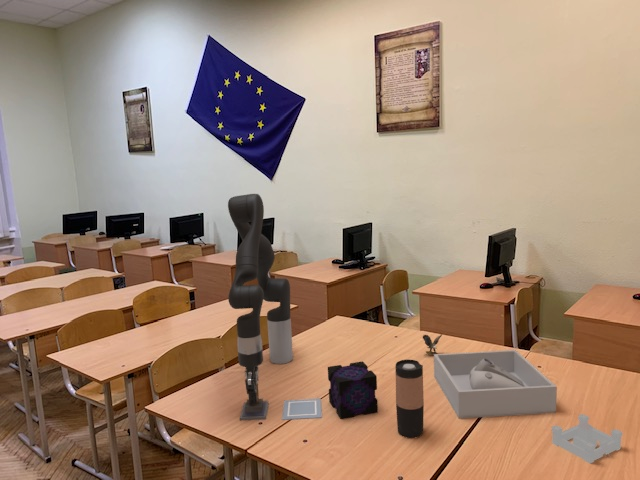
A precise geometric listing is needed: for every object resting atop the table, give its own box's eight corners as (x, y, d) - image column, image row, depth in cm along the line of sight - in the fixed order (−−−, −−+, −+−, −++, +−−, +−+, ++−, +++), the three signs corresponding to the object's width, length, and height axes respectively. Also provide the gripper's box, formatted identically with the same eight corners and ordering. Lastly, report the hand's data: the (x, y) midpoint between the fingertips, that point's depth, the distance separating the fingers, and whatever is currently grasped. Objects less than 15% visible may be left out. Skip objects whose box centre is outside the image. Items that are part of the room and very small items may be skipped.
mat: (284, 401, 160) (284, 400, 160) (320, 399, 160) (320, 398, 160) (282, 420, 148) (282, 418, 148) (321, 418, 148) (321, 416, 148)
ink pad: (244, 405, 159) (243, 401, 159) (268, 403, 159) (268, 400, 159) (239, 421, 149) (239, 417, 149) (266, 419, 149) (265, 416, 149)
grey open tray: (434, 376, 173) (433, 354, 172) (515, 372, 174) (515, 349, 172) (458, 418, 145) (458, 392, 143) (556, 413, 145) (556, 386, 144)
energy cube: (340, 419, 147) (339, 382, 145) (329, 401, 159) (327, 366, 157) (377, 412, 150) (376, 375, 149) (363, 395, 162) (362, 361, 160)
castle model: (580, 428, 137) (581, 403, 136) (635, 455, 124) (637, 428, 123) (544, 444, 130) (544, 418, 129) (598, 475, 117) (599, 446, 116)
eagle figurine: (430, 359, 189) (429, 336, 187) (418, 353, 195) (418, 331, 194) (445, 355, 192) (445, 333, 190) (434, 349, 198) (434, 328, 197)
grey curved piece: (501, 408, 148) (501, 375, 146) (456, 389, 161) (456, 358, 160) (532, 392, 157) (532, 360, 155) (487, 375, 171) (487, 346, 169)
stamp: (247, 405, 156) (245, 381, 155) (263, 404, 156) (261, 380, 155) (245, 413, 152) (243, 388, 150) (261, 412, 152) (259, 387, 150)
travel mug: (393, 435, 137) (391, 367, 134) (401, 422, 144) (400, 357, 141) (419, 441, 134) (418, 372, 131) (427, 427, 140) (426, 361, 137)
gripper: (241, 341, 158) (244, 391, 160) (234, 358, 144) (238, 412, 147) (264, 339, 158) (267, 390, 161) (259, 356, 144) (263, 411, 147)
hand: (253, 400), depth 154 cm, fingers closed on stamp, 3 cm apart
